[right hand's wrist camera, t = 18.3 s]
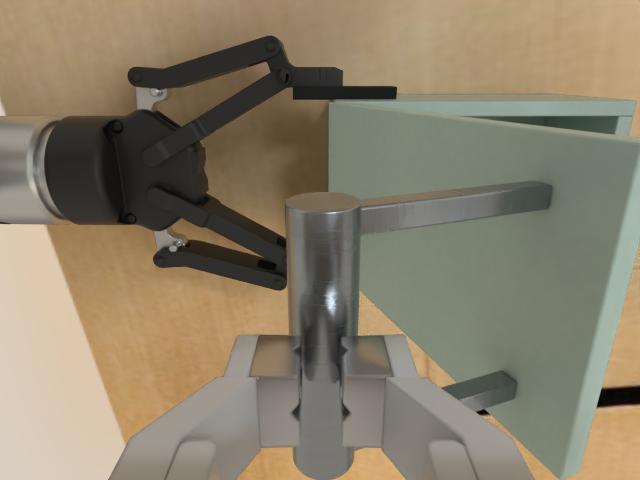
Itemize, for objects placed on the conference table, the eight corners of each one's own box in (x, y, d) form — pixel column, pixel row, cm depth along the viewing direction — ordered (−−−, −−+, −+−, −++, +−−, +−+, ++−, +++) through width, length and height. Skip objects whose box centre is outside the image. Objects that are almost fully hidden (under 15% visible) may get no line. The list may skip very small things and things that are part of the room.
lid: (668, 140, 10) (329, 167, 7) (580, 473, 13) (327, 580, 11) (341, 101, 26) (194, 105, 23) (339, 259, 29) (211, 279, 26)
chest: (554, 93, 35) (637, 100, 26) (534, 213, 38) (600, 258, 29) (333, 94, 35) (334, 101, 26) (332, 213, 39) (333, 257, 29)
